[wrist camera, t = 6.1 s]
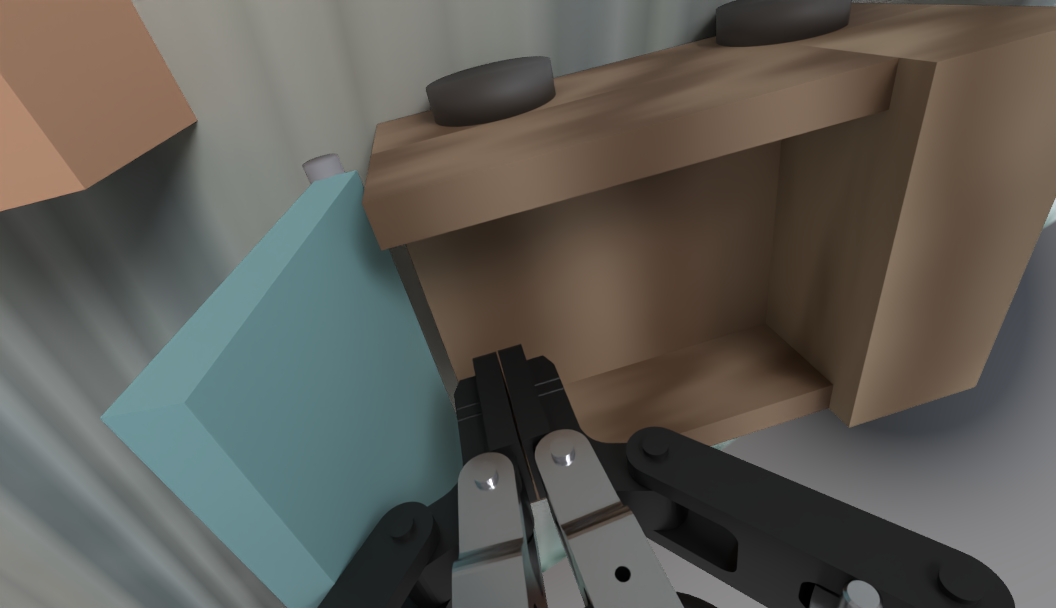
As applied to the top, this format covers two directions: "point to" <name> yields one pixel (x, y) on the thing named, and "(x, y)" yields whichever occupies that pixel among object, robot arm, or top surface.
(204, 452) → the tailgate
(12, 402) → the top surface
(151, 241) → the top surface
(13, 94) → the tapered tan wedge
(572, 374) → the truck bed
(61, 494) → the top surface
